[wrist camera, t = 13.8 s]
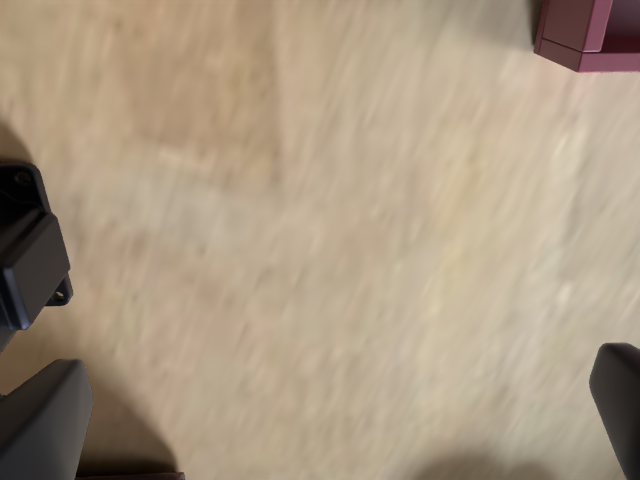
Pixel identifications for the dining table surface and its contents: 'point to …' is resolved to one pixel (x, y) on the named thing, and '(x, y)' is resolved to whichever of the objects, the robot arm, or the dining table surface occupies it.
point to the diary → (139, 477)
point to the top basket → (590, 35)
